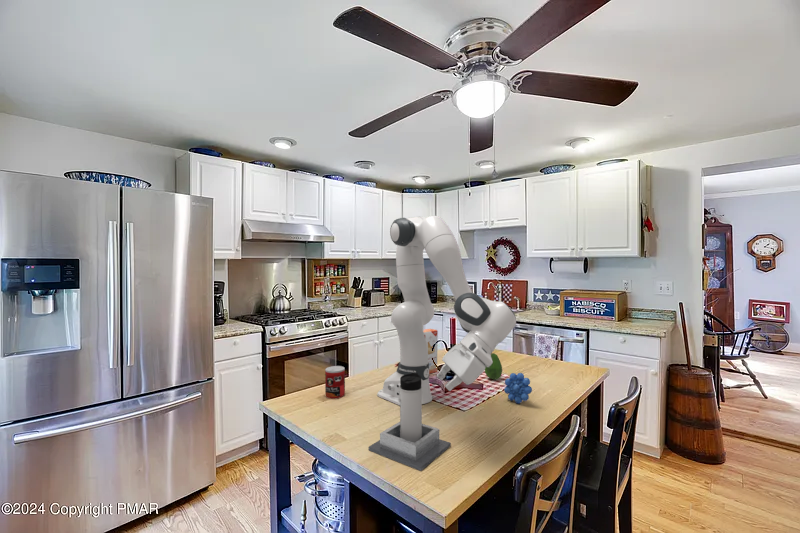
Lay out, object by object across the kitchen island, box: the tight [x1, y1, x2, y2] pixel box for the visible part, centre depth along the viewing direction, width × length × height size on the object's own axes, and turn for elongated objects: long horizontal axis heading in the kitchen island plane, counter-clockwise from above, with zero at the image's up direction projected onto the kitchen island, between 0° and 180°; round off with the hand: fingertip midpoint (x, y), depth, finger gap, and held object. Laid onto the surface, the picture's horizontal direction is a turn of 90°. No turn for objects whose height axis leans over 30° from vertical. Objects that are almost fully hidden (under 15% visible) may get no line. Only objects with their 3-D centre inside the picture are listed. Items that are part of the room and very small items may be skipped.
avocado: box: [484, 352, 503, 381], centre depth 170 cm, size 8×8×12 cm
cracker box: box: [423, 328, 439, 375], centre depth 179 cm, size 14×6×21 cm, turn 128°
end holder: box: [368, 421, 452, 472], centre depth 107 cm, size 18×16×5 cm
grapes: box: [503, 372, 533, 405], centre depth 141 cm, size 12×7×12 cm, turn 41°
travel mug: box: [399, 373, 423, 443], centre depth 108 cm, size 6×7×20 cm
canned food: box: [324, 365, 346, 400], centre depth 150 cm, size 8×8×11 cm
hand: (442, 383), depth 108 cm, fingers open, 8 cm apart
